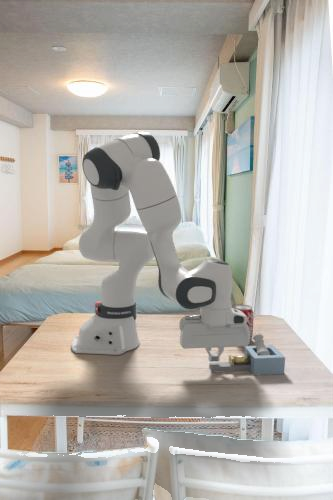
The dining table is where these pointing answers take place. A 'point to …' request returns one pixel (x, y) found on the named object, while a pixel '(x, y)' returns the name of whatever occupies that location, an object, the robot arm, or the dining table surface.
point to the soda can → (249, 313)
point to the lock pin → (239, 359)
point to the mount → (255, 362)
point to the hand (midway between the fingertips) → (213, 360)
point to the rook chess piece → (260, 345)
